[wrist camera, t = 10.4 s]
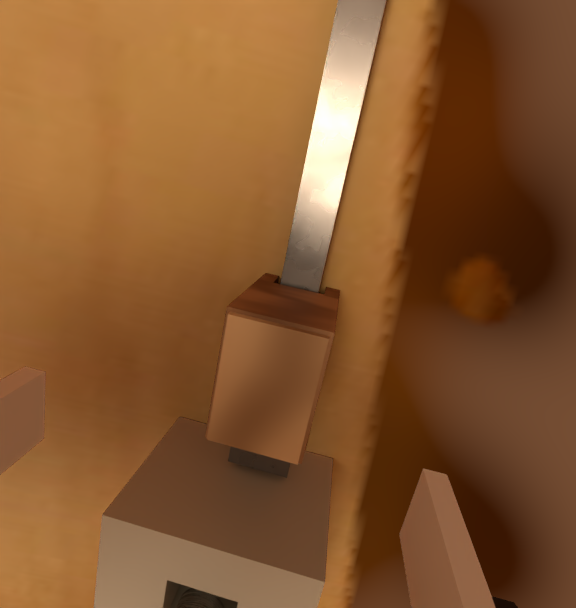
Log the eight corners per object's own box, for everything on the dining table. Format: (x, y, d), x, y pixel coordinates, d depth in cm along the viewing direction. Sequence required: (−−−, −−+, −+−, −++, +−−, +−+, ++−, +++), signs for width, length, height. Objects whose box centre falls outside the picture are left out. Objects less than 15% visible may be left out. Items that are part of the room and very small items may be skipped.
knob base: (164, 520, 33) (90, 648, 24) (179, 416, 31) (102, 514, 21) (304, 561, 32) (285, 713, 23) (333, 458, 30) (324, 582, 20)
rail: (243, 428, 30) (227, 461, 26) (391, -319, 19) (401, -452, 15) (295, 442, 30) (286, 477, 26) (477, -312, 18) (510, -446, 15)
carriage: (247, 367, 28) (202, 441, 20) (265, 273, 27) (224, 308, 18) (316, 385, 28) (300, 469, 19) (339, 290, 26) (334, 335, 17)
